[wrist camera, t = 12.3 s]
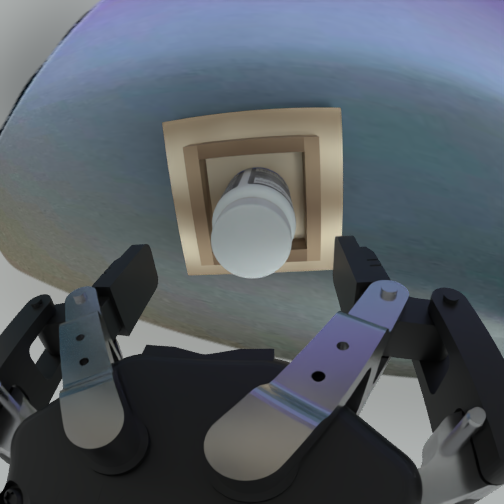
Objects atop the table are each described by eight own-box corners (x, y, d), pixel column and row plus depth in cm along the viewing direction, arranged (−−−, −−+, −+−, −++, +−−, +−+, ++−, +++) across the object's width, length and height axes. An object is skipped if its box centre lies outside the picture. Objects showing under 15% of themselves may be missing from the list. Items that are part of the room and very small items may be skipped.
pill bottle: (239, 233, 23) (223, 295, 16) (217, 178, 21) (186, 215, 14) (298, 215, 22) (310, 271, 15) (278, 157, 20) (282, 183, 13)
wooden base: (174, 121, 22) (151, 123, 18) (332, 108, 21) (347, 107, 16) (196, 259, 28) (182, 287, 23) (333, 253, 27) (344, 281, 22)
